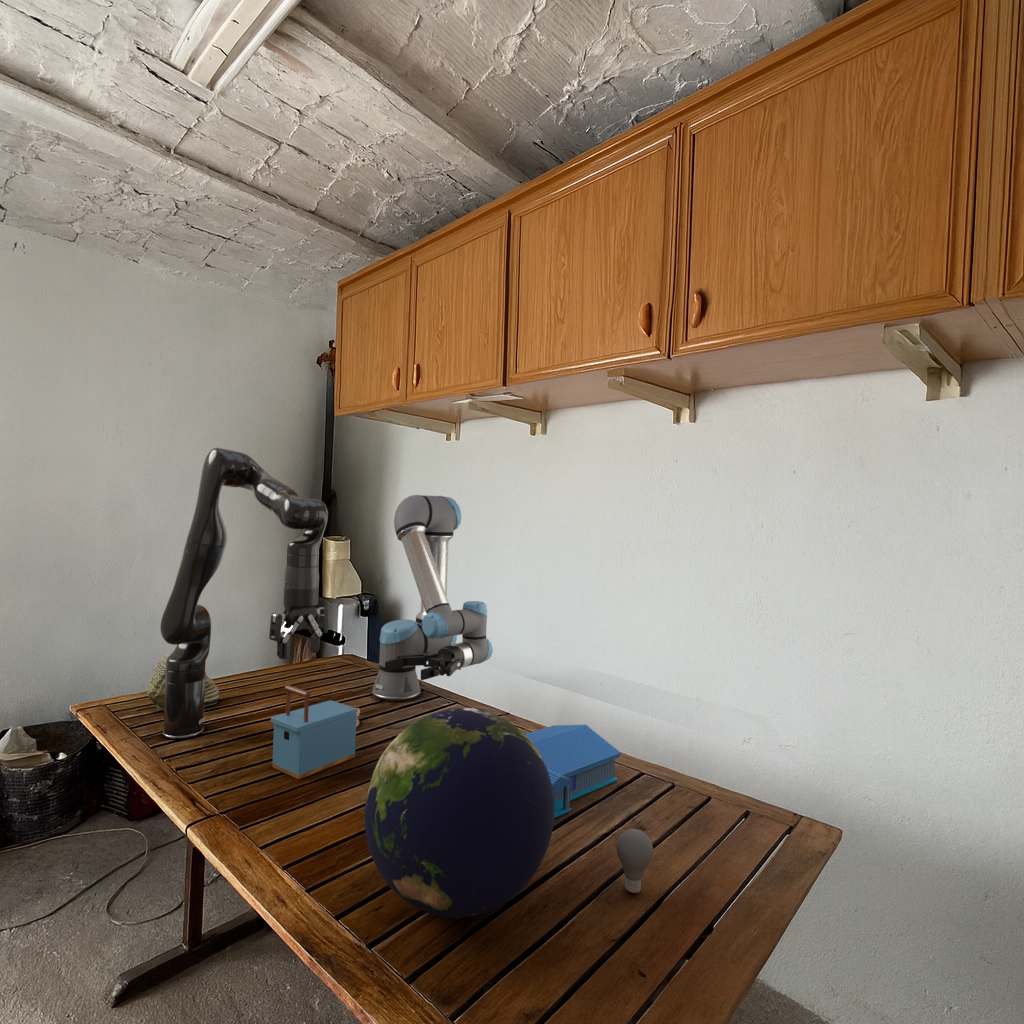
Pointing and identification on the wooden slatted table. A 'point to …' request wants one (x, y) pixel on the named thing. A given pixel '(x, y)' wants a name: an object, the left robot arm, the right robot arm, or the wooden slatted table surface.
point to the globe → (459, 812)
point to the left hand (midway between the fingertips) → (298, 655)
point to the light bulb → (634, 857)
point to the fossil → (158, 687)
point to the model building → (574, 761)
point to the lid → (310, 712)
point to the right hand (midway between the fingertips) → (403, 670)
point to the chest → (314, 747)
